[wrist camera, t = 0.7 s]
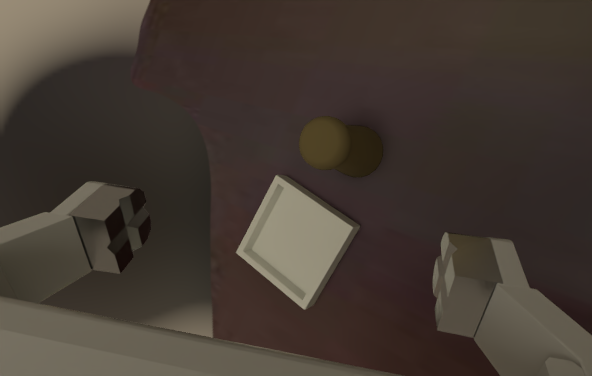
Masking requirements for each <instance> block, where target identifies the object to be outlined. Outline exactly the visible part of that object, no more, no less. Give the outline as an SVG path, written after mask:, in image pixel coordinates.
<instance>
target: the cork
mask: <svg viewBox="0 0 592 376" xmlns="http://www.w3.org/2000/svg"><path fill="white" fill-rule="evenodd" d="M299 149H300V152H301V155H302V157H303V158H304V160H305V161H306V162H307V163H308V164H309V165H311V166H312V167H314V168H317V169H319V170H331V169H336V170H338V171H340V172H342V173H344V174H346V175H348V176H351V177H363V176H366V175H369V174H370V173H372V172H373V171H374V170H375V169H376V168H377V167H378V165H379V164H380V162H381V159H382V156H383V146H382V142H381V139H380V138H379V136H378V135H377V133H376V132H374V131H373V130H372V129H370V128H368V127H364V126H352V125H345V124H344V123H343V122H342V121H340V120H339V119H337V118H334V117H330V116H322V117H317V118H315V119H313V120H311V121H310V122H309V123H308V124H307V125H306V126H305V127H304V129H303V130H302V132H301V135H300V139H299Z"/></svg>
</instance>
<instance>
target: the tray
mask: <svg viewBox="0 0 592 376" xmlns="http://www.w3.org/2000/svg"><path fill="white" fill-rule="evenodd" d="M359 228H360V225H359V224H357V223H356V222H354V221H353V220H351V219H350V218H348V217H347V216H345V215H344V214H342V213H341V212H339V211H338V210H336V209H335V208H333V207H332V206H330V205H329V204H327V203H326V202H325V201H323V200H322V199H320V198H319V197H317V196H316V195H314V194H313V193H311V192H310V191H308V190H307V189H305V188H304V187H302V186H301V185H299V184H298V183H296V182H295V181H294V180H292V179H291V178H289V177H288V176H284V175H276V176H275V178H274V180H273V182H272V184H271V186H270V188H269V190H268V192H267V194H266V196H265V198H264V200H263V202H262V204H261V205H260V207H259V209H258V211H257V213H256V215H255V217H254V219H253V221H252V223H251V225H250V227H249V229H248V231H247V232H246V234H245V236H244V238H243V240H242V242H241V244H240V246H239V248H238V250H237V252H236V253H237V254H238V255H239V256H241V257H242V258H243V259H244V260H245V261H247V262H248V263H249V264H250V265H251V266H253V267H254V268H255V269H256V270H257V271H259V272H260V273H261V274H262V275H263V276H265V277H266V278H267V279H268V280H269V281H271V282H272V283H273V284H274V285H275V286H277V287H278V288H279V289H280V290H281V291H282V292H284V293H285V294H286V295H287V296H288V297H290V298H291V299H292V300H293V301H294V302H296V303H297V304H298V305H299V306H300V307H302V308H303V309H304V310H305V309H307V308H309V307H311V306H313V305H314V304H315V302H316V300H317V299H318V297H319V295H320V294H321V292H322V290H323V288H324V287H325V285H326V283H327V282H328V280H329V278H330V277H331V275H332V273H333V272H334V270H335V268H336V267H337V265H338V263H339V262H340V260H341V258H342V256H343V255H344V253H345V251H346V250H347V248H348V246H349V245H350V243H351V241H352V240H353V238H354V236H355V235H356V233H357V231H358V230H359Z"/></svg>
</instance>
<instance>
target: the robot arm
mask: <svg viewBox="0 0 592 376" xmlns="http://www.w3.org/2000/svg"><path fill="white" fill-rule="evenodd" d="M145 203H146V198H145V195H144V192H143V191H142V190H141V189H138V188H132V187H126V186H120V185H114V184H106V183H101V182H94V181H92V182H86V183H85V184H84V185H83V186H82V187H80V188H79V189H78V190H77V191H76V192H74V193H73V194H72V195H71V196H70V197H69V198H67V199H66V200H65V201H64V202H62V203H61V204H60V205H59V206H58V207H56V208H55V209H54V210H53V211H52V212H50V213H47V212H44V213H41V214H39V215H35V216H32V217H30V218H27V219H24V220H21V221H18V222H15V223H13V224H10V225H7V226H4V227H1V228H0V376H403V375H397V374H392V373H387V372H382V371H377V370H372V369H367V368H362V367H357V366H352V365H347V364H342V363H337V362H332V361H327V360H322V359H317V358H312V357H307V356H302V355H297V354H292V353H287V352H282V351H277V350H272V349H267V348H262V347H257V346H251V345H246V344H241V343H236V342H231V341H226V340H221V339H216V338H211V337H206V336H201V335H196V334H191V333H186V332H181V331H175V330H170V329H165V328H160V327H154V326H150V325H145V324H140V323H135V322H130V321H124V320H120V319H115V318H109V317H105V316H99V315H94V314H89V313H84V312H79V311H74V310H69V309H64V308H58V307H54V306H49V305H44V304H39V302H41V301H42V300H44V299H46V298H47V297H49V296H51V295H52V294H54V293H56V292H58V291H59V290H61V289H63V288H64V287H66V286H67V285H69V284H71V283H72V282H74V281H76V280H77V279H79V278H81V277H82V276H84V275H86V274H87V273H89V272H91V271H92V270H98V271H105V272H112V273H118V274H120V273H121V272H122V271H123V270H124V268H125V267H126V266H127V265H128V263H129V262H130V261H131V260H132V258H133V250H135V249H137V248H139V247H141V246H142V245H143V244H144V243H145V241H146V240H147V238H148V235H149V232H150V230H151V220H150V215H149V214H148V213H147V211H146V210H145V209H144V208H143V206H144V204H145ZM441 252H442V255H440V256H439V257H437V259H436V263H435V267H434V274H433V294H434V296H435V297H436V298H437V303H436V306H435V315H436V324H437V330H438V331H443V332H448V333H453V334H458V335H463V336H467V337H472V338H474V340H475V342H476V343H477V345H478V346H479V347H480V349H481V350H482V351H483V353H484V354H485V355H486V357H487V358H488V360H489V361H490V362H491V364H492V365H493V366H494V368H495V369H496V370H497V372H498V373H499V375H500V376H592V335H590V334H589V333H588V332H587V331H586V330H584V329H583V328H582V327H581V326H580V325H578V324H577V323H576V322H575V321H574V320H572V319H571V318H570V317H569V316H568V315H567V314H565V313H564V312H563V311H562V310H561V309H559V308H558V307H557V306H556V305H555V304H553V303H552V302H551V301H550V300H549V299H547V298H546V297H545V296H544V295H543V294H541V293H540V292H539V291H538V290H537V289H531V288H530V287H529V285H528V282H527V279H526V276H525V274H524V271H523V268H522V266H521V263H520V260H519V258H518V255H517V252H516V250H515V247H514V244H513V242H512V241H511V240H508V239H499V238H491V237H488V238H485V237H478V236H470V235H463V234H456V233H448V232H445V234H444V236H443V238H442V242H441ZM91 269H92V270H91Z"/></svg>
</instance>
